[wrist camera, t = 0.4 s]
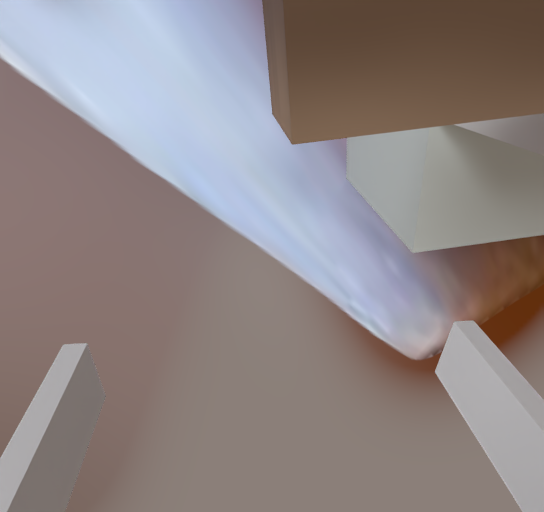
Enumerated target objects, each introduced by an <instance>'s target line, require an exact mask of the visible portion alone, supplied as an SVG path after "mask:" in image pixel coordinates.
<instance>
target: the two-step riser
mask: <svg viewBox="0 0 544 512" xmlns="http://www.w3.org/2000/svg"><path fill="white" fill-rule="evenodd" d="M346 179H347V180H348V181H349V182H350V183H351V184H352V186H353V187H354V188H355V189H356V190H357V191H358V192H359V193H360V194H361V196H362V197H363V198H364V199H365V200H366V201H367V202H368V203H369V205H370V206H371V207H372V208H373V209H374V210H375V211H376V212H377V214H378V215H379V216H380V217H381V218H382V219H383V220H384V221H385V223H386V224H387V225H388V226H389V227H390V228H391V229H392V230H393V231H394V233H395V234H396V235H397V236H398V237H399V238H400V239H401V240H402V242H403V243H404V244H405V245H406V246H407V247H408V248H409V249H410V251H411V252H412V253H417V252H424V251H431V250H438V249H445V248H453V247H460V246H467V245H474V244H481V243H489V242H496V241H503V240H510V239H517V238H525V237H532V236H539V235H544V113H542V114H534V115H526V116H518V117H510V118H502V119H494V120H486V121H478V122H470V123H462V124H454V125H446V126H438V127H430V128H421V129H413V130H405V131H397V132H389V133H381V134H373V135H365V136H357V137H349V138H347V167H346Z"/></svg>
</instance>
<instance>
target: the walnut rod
mask: <svg viewBox="0 0 544 512" xmlns="http://www.w3.org/2000/svg"><path fill="white" fill-rule="evenodd" d="M262 3H263V14H264V25H265V36H266V48H267V59H268V70H269V81H270V92H271V104H272V114H273V116H274V117H275V119H276V120H277V122H278V123H279V125H280V126H281V128H282V130H283V131H284V133H285V134H286V136H287V137H288V139H289V140H290V142H291V143H292V145H293V144H301V143H309V142H317V141H325V140H333V139H341V138H349V137H357V136H365V135H373V134H381V133H389V132H397V131H405V130H413V129H421V128H430V127H438V126H446V125H454V124H462V123H470V122H478V121H486V120H494V119H502V118H510V117H518V116H526V115H534V114H542V113H544V0H262Z"/></svg>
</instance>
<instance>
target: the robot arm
mask: <svg viewBox="0 0 544 512" xmlns="http://www.w3.org/2000/svg"><path fill="white" fill-rule="evenodd" d="M435 373H436V375H437V376H438V378H439V379H440V381H441V382H442V384H443V386H444V387H445V389H446V390H447V392H448V394H449V395H450V397H451V398H452V400H453V402H454V403H455V405H456V406H457V408H458V410H459V411H460V413H461V414H462V416H463V417H464V419H465V421H466V422H467V424H468V425H469V427H470V429H471V430H472V432H473V433H474V435H475V437H476V438H477V440H478V441H479V443H480V444H481V446H482V448H483V449H484V451H485V452H486V454H487V456H488V457H489V459H490V461H491V462H492V464H493V465H494V467H495V468H496V470H497V472H498V473H499V475H500V476H501V478H502V480H503V481H504V483H505V484H506V486H507V488H508V489H509V491H510V492H511V494H512V496H513V497H514V499H515V500H516V502H517V503H518V505H519V507H520V508H521V510H522V512H544V400H543V399H542V398H541V397H540V395H539V394H538V393H537V392H536V391H535V390H534V389H533V387H532V386H531V385H530V384H529V383H528V382H527V381H526V380H525V378H524V377H523V376H522V375H521V374H520V373H519V372H518V370H517V369H516V368H515V367H514V366H513V365H512V364H511V363H510V361H508V359H507V358H506V357H505V356H504V355H503V354H502V352H501V351H500V350H499V349H498V348H497V347H496V346H495V344H494V343H493V342H492V341H491V340H490V339H489V338H488V337H487V335H486V334H485V333H484V332H483V331H482V330H481V329H480V328H479V326H478V325H477V324H476V323H475V322H474V321H456V322H454V323H453V326H452V329H451V331H450V334H449V336H448V339H447V342H446V344H445V347H444V349H443V352H442V355H441V358H440V360H439V363H438V365H437V368H436V370H435ZM105 397H106V396H105V392H104V390H103V387H102V384H101V381H100V378H99V375H98V372H97V370H96V367H95V364H94V361H93V358H92V355H91V353H90V350H89V347H88V344H87V343H83V344H66V345H63V346H62V348H61V350H60V352H59V354H58V355H57V357H56V359H55V361H54V362H53V364H52V366H51V368H50V370H49V371H48V373H47V375H46V377H45V379H44V380H43V382H42V384H41V386H40V388H39V389H38V391H37V393H36V395H35V397H34V399H33V400H32V402H31V404H30V406H29V408H28V409H27V411H26V413H25V415H24V417H23V418H22V420H21V422H20V424H19V426H18V427H17V429H16V431H15V433H14V435H13V436H12V438H11V440H10V442H9V444H8V445H7V447H6V449H5V451H4V453H3V454H2V456H1V458H0V512H65V510H66V508H67V505H68V502H69V499H70V496H71V494H72V491H73V488H74V485H75V482H76V479H77V476H78V474H79V470H80V468H81V465H82V462H83V460H84V457H85V454H86V451H87V448H88V445H89V442H90V439H91V437H92V434H93V431H94V428H95V425H96V423H97V420H98V417H99V414H100V411H101V408H102V405H103V403H104V400H105Z"/></svg>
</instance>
